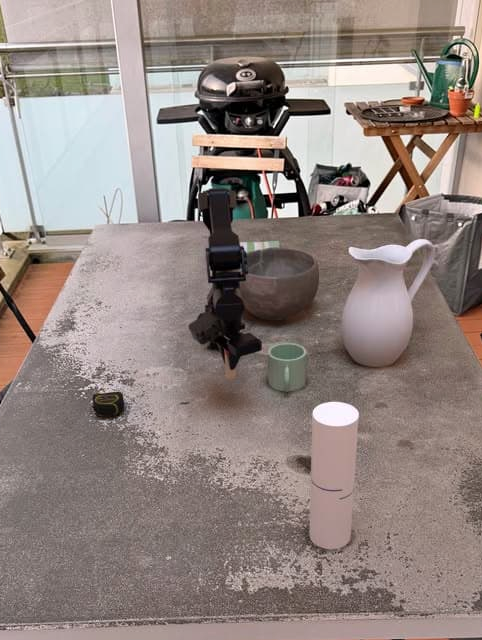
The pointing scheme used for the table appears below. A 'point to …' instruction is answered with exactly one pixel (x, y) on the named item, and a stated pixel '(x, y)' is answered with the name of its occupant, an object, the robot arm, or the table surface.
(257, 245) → the dish towel
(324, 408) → the cylindrical container
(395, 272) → the pitcher
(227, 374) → the marker
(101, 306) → the table surface
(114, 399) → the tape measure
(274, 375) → the green handled mug
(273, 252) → the bowl
